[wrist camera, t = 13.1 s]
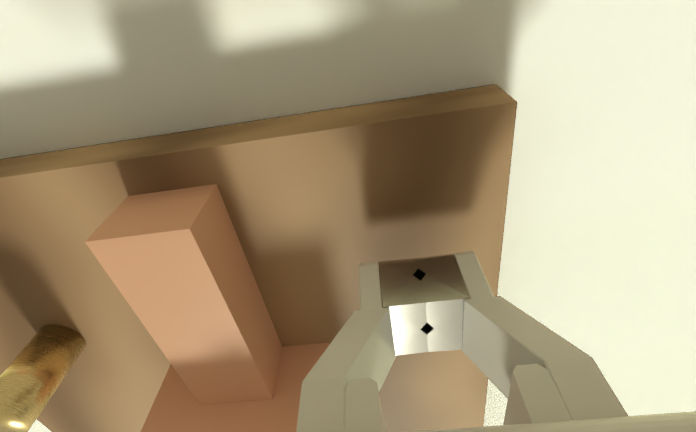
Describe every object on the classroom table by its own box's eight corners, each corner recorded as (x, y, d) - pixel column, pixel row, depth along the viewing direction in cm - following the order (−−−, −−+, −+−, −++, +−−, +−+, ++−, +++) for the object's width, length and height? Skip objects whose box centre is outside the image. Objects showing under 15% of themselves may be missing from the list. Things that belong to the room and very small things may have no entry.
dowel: (70, 322, 13) (4, 407, 10) (94, 350, 14) (39, 434, 11) (28, 326, 13) (-46, 411, 11) (55, 354, 14) (-8, 438, 12)
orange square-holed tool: (280, 175, 10) (244, 285, 6) (352, 424, 17) (352, 536, 14) (68, 204, 10) (-66, 320, 7) (226, 433, 17) (197, 543, 14)
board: (495, 84, 10) (516, 101, 9) (470, 441, 21) (478, 471, 20) (-159, 183, 12) (-220, 209, 10) (139, 464, 23) (127, 493, 21)
